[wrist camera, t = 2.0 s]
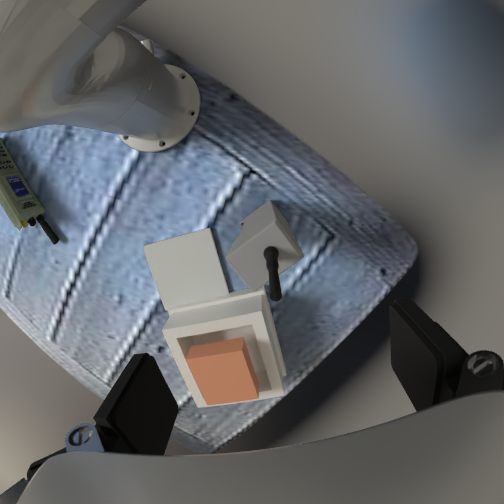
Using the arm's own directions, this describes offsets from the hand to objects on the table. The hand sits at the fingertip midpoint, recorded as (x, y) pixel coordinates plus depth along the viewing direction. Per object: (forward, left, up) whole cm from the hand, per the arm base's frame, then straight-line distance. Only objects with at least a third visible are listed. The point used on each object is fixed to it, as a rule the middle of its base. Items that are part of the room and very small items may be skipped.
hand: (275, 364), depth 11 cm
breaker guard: (+16, -9, -30) cm, 35 cm away
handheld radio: (-17, -38, -30) cm, 51 cm away
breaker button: (+16, -9, -23) cm, 29 cm away
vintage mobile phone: (0, 0, -30) cm, 30 cm away
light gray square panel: (+4, -12, -30) cm, 33 cm away
